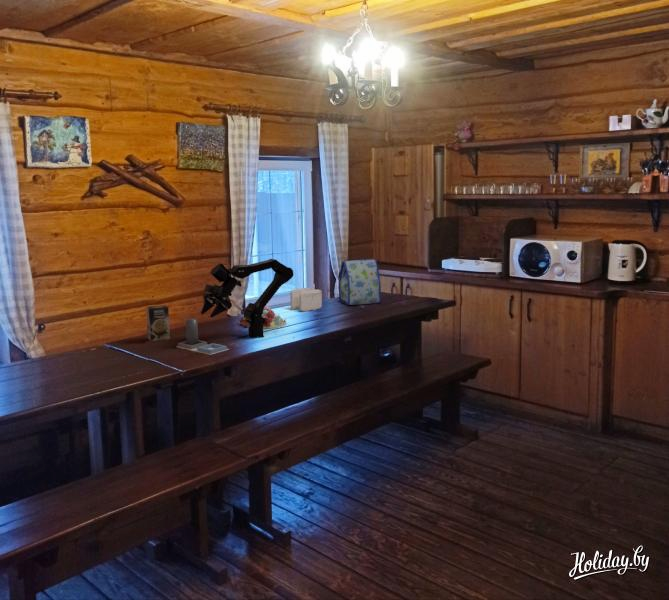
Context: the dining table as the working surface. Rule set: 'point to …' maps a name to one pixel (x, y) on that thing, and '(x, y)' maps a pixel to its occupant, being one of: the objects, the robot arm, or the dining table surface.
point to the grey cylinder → (192, 331)
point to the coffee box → (158, 322)
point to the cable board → (203, 347)
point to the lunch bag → (359, 282)
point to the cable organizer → (306, 299)
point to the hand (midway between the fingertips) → (206, 315)
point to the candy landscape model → (267, 320)
